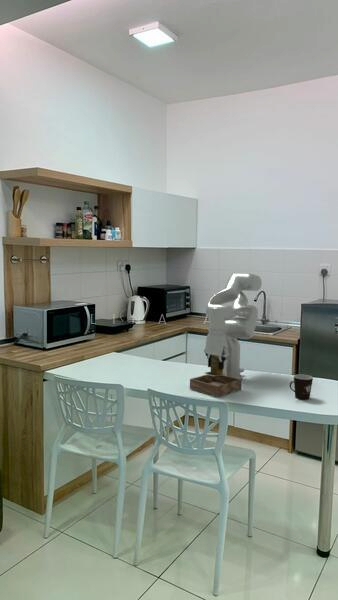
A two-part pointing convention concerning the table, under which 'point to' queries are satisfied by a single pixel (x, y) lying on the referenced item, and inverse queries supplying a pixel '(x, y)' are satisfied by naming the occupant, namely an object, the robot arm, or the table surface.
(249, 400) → the table surface
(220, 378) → the crate
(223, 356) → the robot arm
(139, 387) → the table surface
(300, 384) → the coffee mug
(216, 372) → the condiment
